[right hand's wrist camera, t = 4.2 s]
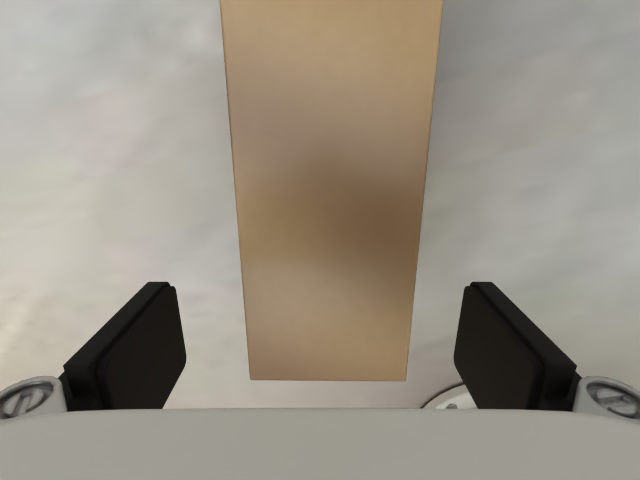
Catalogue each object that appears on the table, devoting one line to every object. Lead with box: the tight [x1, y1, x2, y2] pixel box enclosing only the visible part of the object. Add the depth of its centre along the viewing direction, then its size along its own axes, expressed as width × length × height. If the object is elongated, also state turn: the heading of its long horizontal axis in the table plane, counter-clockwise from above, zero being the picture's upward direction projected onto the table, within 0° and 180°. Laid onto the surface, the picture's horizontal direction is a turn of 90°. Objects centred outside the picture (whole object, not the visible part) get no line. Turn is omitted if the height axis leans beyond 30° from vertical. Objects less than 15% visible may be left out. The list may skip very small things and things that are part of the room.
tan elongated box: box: [220, 0, 443, 381], centre depth 16 cm, size 20×6×11 cm, turn 0°
